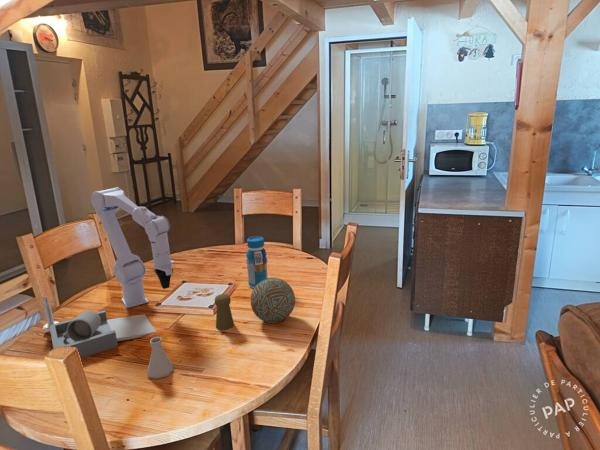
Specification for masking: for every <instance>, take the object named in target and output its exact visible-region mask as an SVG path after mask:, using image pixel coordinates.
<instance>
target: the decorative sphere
mask: <svg viewBox="0 0 600 450" xmlns="http://www.w3.org/2000/svg"><path fill="white" fill-rule="evenodd" d="M295 304H296V296H295V291H294V290H293V287H292V286H291V285H290V284H289V283H288V282H286V281H285V280H283V279H281V278H278V277H268V278H267V279H265V280H263V281H261V282H259V283H258V284H257V285H256V286H255V288H252V291H251V294H250V306H251V309H252V312H253V313H254V315H255V316H256V317H257V318H258V319H259V320H261V321H263V322H265V323H269V324H276V323H280V322H283V321H285V320H286V319H288V318H289V317H290V315H291V314H292V313H293V311H294V308H295Z"/></svg>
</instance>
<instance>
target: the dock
mask: <svg viewBox="0 0 600 450" xmlns="http://www.w3.org/2000/svg"><path fill="white" fill-rule="evenodd" d="M95 312H96V311H95ZM96 313H97V314H98V315H99V316H100V319H101V323H100V326H99V328H98V329H97V330H96V331H95V333H94V334H93V335H92V337H90V338H86V339H83V340H80V341H77V342H76V341H74V340H72V339H71V338H68V339H65V338H64V337H63V334H64V333H65V332H66V331H67V327H68V325H69V323H70V322H71V321H73V320H74V319H75V318H76V317H75V318H71V319H68V320H64V321H59V323H56V324H52V325H49V327H50V332H51V333H50V335H51V342H52V349H53V350H54V349H55V348H57V347H60V346H71V347H76V348H77V349H78V352H79V355H80V357H82V358H81V359H84V358H86V357H89V356H92V355H96V354H99V353H101V352H104V351H108V350H111V349H113V348H118V347H119V344H118V342H121V341H127V340H133V339H137V338H141V337H145V336H148V335H151V334H154V333H156V332H157V330H156V329H155V327H154V326H153V325H152V323H151V322H150V320H149V319H148V317H147V316H146V314H145V313H144V314H138V315H131V316H123V317H116V318H110V319H108V317H107V313H106V310H101V311H97V312H96Z"/></svg>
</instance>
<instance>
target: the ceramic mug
mask: <svg viewBox="0 0 600 450" xmlns="http://www.w3.org/2000/svg"><path fill="white" fill-rule="evenodd" d="M73 319H74V318H73ZM100 323H101V319H100V316H99V315H98V314H97V313H96V311H93V310H85V311H83V312H81V313H79V314H78V315H76V317H75V319H74V320H73V321H71V322H70V323H69V325H68V327H67V331H66V332H65V333H64V334H63V337H64V338H65V339H68V338H71V339H72V340H74V341H76V342H77V341H80V340H83V339H86V338H90V337H92V335H93V334H94V333H95V331H96V330H97V329H98V328H99V326H100Z"/></svg>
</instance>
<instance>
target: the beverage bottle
mask: <svg viewBox="0 0 600 450" xmlns="http://www.w3.org/2000/svg"><path fill="white" fill-rule="evenodd" d="M246 244H247V248H248V249H247V251H246V255H245V257H246V258H247V259H246V266H247V278H248V281H247V282H248V286H249V287H250V288H251V289H254V288H255V286H256V285H257V284H258V283H259V282H261V281H263V280H265V279H267V278H269V277H268V275H269V274H268V258H267V255H268V254H267V251H266V249H265V248H264V246H265V238H264V237H262V236H258V235H257V236H250V237H248V238H247V240H246Z"/></svg>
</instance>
